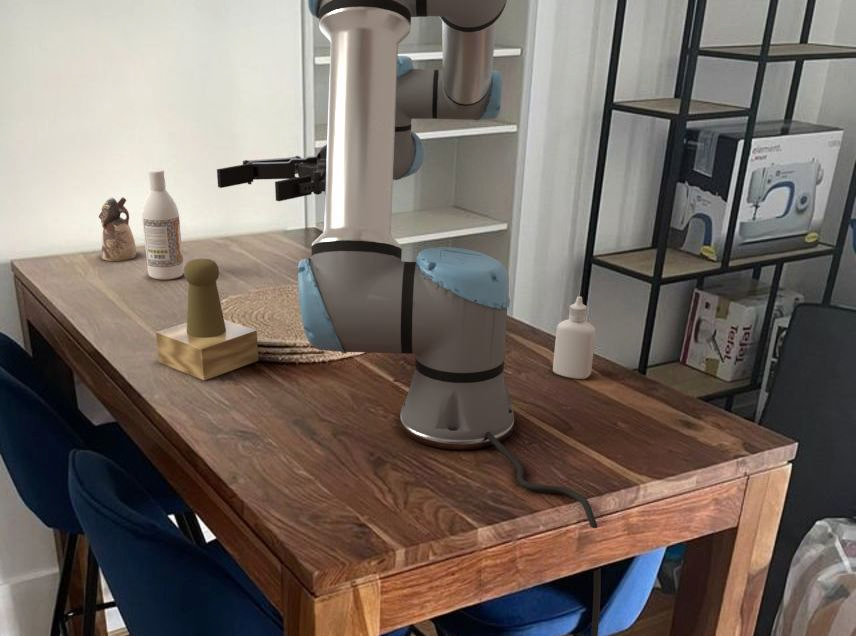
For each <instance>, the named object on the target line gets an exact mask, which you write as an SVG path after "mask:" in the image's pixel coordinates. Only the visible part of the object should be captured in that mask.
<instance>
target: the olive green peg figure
mask: <svg viewBox="0 0 856 636" xmlns="http://www.w3.org/2000/svg"><path fill="white" fill-rule="evenodd" d="M183 275H184V278H185V281H186V282H187V283H188V287H187V288H188V290H187V291H188V293H187V312H186V313H187V314H186V316H187V317H186V323H187V334H188V335H190V336H193V337H199V338H207V337H215V336H219V335H221V334H223V333H224V332H225V331H226V327H225V322H224V319H225V318H224V313H223V309H222V304H221V299H220V294H219V289H218V285H217V280H218V279H219V275H220V268H219V266H218V264H217V262H216V261H215V260H213V259H210V258H194V259H191V260H188V261H187V262H186V263H185V265H184V273H183Z"/></svg>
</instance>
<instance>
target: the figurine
mask: <svg viewBox="0 0 856 636" xmlns="http://www.w3.org/2000/svg"><path fill="white" fill-rule="evenodd" d="M126 202H127V199H126V198H125V197H124V196H122V197H121V198H120V199H119V201H117V200H116V198H115V197H108V198H107V200H106V201H105V202H104V203H103V204H102V207H101V211H100V213H99V215H98V218H99V220H100V224H101V227H102V239H101V240H102V242H101V243H102V244H101V259H103V260H105V261H108V262H122V261H127V260H131V259H134V258H135V257H136V256H137V245H136V242H135V238H134V237H135V236H134V234H133V232H132V229H131V226H130V224H129V221H130V213H129V211H128V209H127V208H126V207H125V206H124V205H125V204H126ZM121 214H125V216H126V217H125V218H123V217H121Z"/></svg>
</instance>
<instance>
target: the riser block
mask: <svg viewBox="0 0 856 636" xmlns="http://www.w3.org/2000/svg"><path fill="white" fill-rule="evenodd" d="M224 322H225V327H226V331H225V332H224V333H223V334H221V335H219V336H215V337H207V338H199V337H193V336H190V335H188V334H187V322H184V323H181V324H178V325H174V326H171V327H169V328H165V329H162V330H159V331H156V332H155V336H156V347H157V357H158V363H159V364H162V365H164V366H166V367H169V368H172V369H174V370H177V371H179V372H182V373H185V374H187V375H189V376H191V377H195V378H197V379H199V380H202V381H207V380H209V379H212V378H215V377H217V376H221V375H224V374H225V373H229V372H231V371H234V370H237V369H239V368H243V367H245V366H247V365H250V364H254V363H256V362H259V345H258V330H257V329H254V328H252V327H249V326H245V325H242V324H239V323H236V322H233V321H231V320H227V319H225V318H224Z"/></svg>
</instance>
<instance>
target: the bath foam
mask: <svg viewBox="0 0 856 636" xmlns="http://www.w3.org/2000/svg"><path fill="white" fill-rule="evenodd" d="M148 183H149V192H148V194H147V195H146V198H145V200H144V202H143V205H142V209H141V210H142V211H141V215H142V216H141V218H142V219H141V220H142V227H143V238H144V247H145V257H146V265H147V274H148V276H149V277H150V278H151V279H155V280H161V281H163V280H165V281H166V280H168V281H169V280H174V279H178V278H180V277H182V276H183V275H184V267H185V265H184V256H183V244H182V231H181V221H180V214H179V208H178V206H177V204H176V202H175V200H174V198H173V197H172V196H171V195H170V193H169V192H168V190H167V189H166V178H165V170H164V169H162V168H152V169H148Z"/></svg>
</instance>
